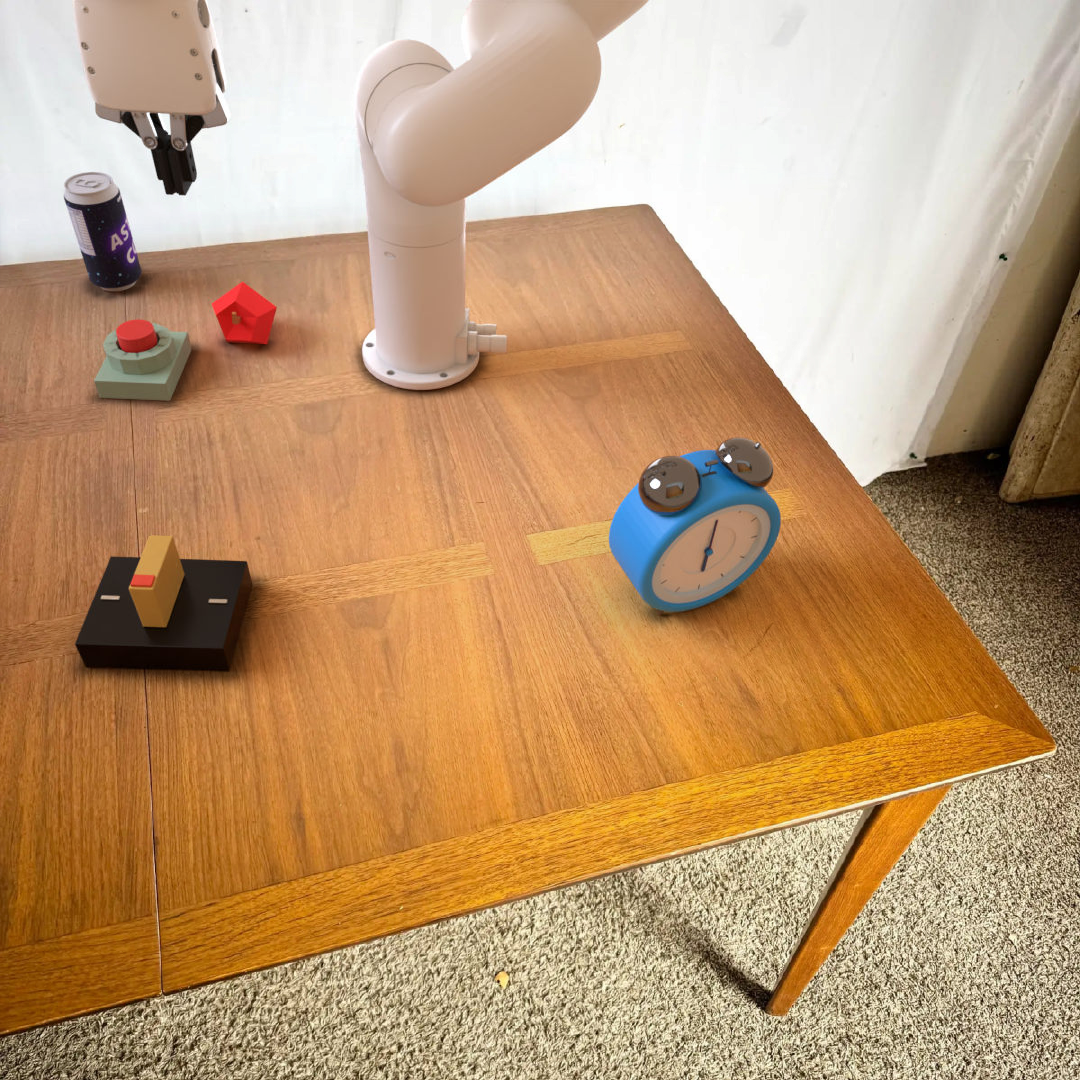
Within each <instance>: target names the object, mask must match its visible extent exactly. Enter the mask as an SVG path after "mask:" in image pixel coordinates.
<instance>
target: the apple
mask: <svg viewBox="0 0 1080 1080" xmlns="http://www.w3.org/2000/svg"><path fill="white" fill-rule="evenodd" d="M211 307H212V309H213V313H214V314H215V317H216V319H217V322H218V324H219V327H220V329H221V331H222V333H223V337H224V340H225V341H226V343H237V344H238V343H239V344H255V345H256V344H257V345H268V342H269V339H270V335H271V331H272V327H273V323H274V320H275V316H276V312H277V310H278V309H277V308H278V306H277V305H275V304H274V303H272V302H270V301H269V300H268V299H267V298H265V297H264V296H263V295H262V294H260V293H259V292H258V291H256V290H255V289H253V288H252V287H251V286H249V285H248V284H247V283H245V282H244V281H241V282H240V283H238V284H237V285H235V286H233V288H231V289H229V290H228V291H227V292H226V293H224V294H223V295H222V296H220V297H219V298H217V299H215V301H213V302H212V303H211Z"/></svg>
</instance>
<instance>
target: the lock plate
mask: <svg viewBox="0 0 1080 1080" xmlns="http://www.w3.org/2000/svg"><path fill="white" fill-rule="evenodd" d="M140 558H141V556H139V557H138V556H110V558H109V560H108V562H107V565H106V567H105V570H104V572H103V574H102V577H101V580H100V582H99V584H98V587H97V588H96V592H95V594H94V597H93V599H92V601H91V603H90V606H89V608H88V611H87V613H86V616H85V618H84V621H83V622H82V625H81V628H80V630H79V632H78V635H77V637H76V640H75V642H74V645H75V647H76V650H77V652H78V653H79V656H80V658H81V660H82V662H83V665H84V666H85V668H92V669H93V668H95V669H97V668H98V669H128V670H129V669H132V670H160V671H161V670H162V671H163V670H164V671H165V670H166V671H197V672H200V671H202V672H230V671H231V668H232V665H233V661H234V656H235V654H236V653H235V652H236V650H237V645H238V642H239V638H240V634H241V630H242V627H243V623H244V619H245V615H246V612H247V607H248V605H249V600H250V596H251V592H252V589H253V585H254V583H253V581H252V576H251V572H250V568H249V564H248V561H247V560H231V559H230V560H228V559H227V560H226V559H225V560H224V559H222V560H221V559H199V558H198V559H197V558H180V561H181V564H182V568H183V571H184V574H185V575H184V578H183V580H182V583H181V586H180V589H179V592H178V595H177V598H176V601H175V604H174V607H173V609H172V612H171V615H170V618H169V621H168V624H167V627H144V626H143V625H142V622H141V620H140V617H139V614H138V612H137V609H136V607H135V604H134V601H133V599H132V596H131V594H130V591H129V586H130V584H131V581H132V579H133V576H134V574H135V571H136V568H137V566H138V563H139V561H140Z"/></svg>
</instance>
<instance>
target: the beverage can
mask: <svg viewBox="0 0 1080 1080" xmlns="http://www.w3.org/2000/svg"><path fill="white" fill-rule="evenodd" d="M63 186H64V187H63V188H64V193H63V200H64V203H65V207H66V209H67V213H68V215H69V219H70V222H71V225H72V228H73V231H74V235H75V239H76V241H77V244H78V247H79V250H80V253H81V256H82V261H83V263H84V266H85V270H86V273H87V276H88V278H89V281H90V282H91V283H92V284H93V285H94V286H97V287H99V288H101V289H102V290H103V291H108V292H121V291H125V290H128V289H131V288H132V287H134V286H135V284H136V283H137V281H138V280H139V279H140V278H141V276H142V273H143V272H142V268H141V263H140V260H139V257H138V252H137V250H136V249H137V248H136V246H135V242H134V241H135V240H134V239H133V234H132V231H131V227H130V224H129V220H128V215H127V211H126V208H125V204H124V201H123V196H122V194H121V190H120V188H119V187H118V186H117V184H115V182H114V179H113V178H112V176H111V175H109V174H107V173H104V172H100V171H86V172H80V173H77V174H73V175H72V176H69V177H68V178H67V179H66V180H65V181H64V184H63Z"/></svg>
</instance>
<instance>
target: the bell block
mask: <svg viewBox="0 0 1080 1080" xmlns="http://www.w3.org/2000/svg"><path fill="white" fill-rule="evenodd" d="M151 323H152V324H153V326H154V330H155V333H156V337H157V345H156V346H155V347H153V348H152V349H150V350H148V351H144V352H140V353H127V352H124V351H123V350H122V349H121V348H120V345H119V341H118V338H117V335H116V329H115V330H113V331H111V332H110V333H108V334H107V335H106V336H105V339H104V341H103V343H102V347H103V349H104V352H105V358H104V360H103V362H102V364H101V366H100V367H99V370H98V372H97V374H96V376H95V378H94V380H93V382H94V385H95V388H96V391H97V394H98V397H99V398H100V399H116V400H141V401H142V400H143V401H165V402H167V401H168V402H170V401H171V400H172V397H173V395H174V392H175V390H176V387H177V386H178V383H179V381H180V378H181V376H182V374H183V371H184V369H185V367H186V364H187V362H188V359H189V356H190V354H191V352H192V350H193V349H192V343H191V340H190V336H189V333H188V331H171V330H170V329H169V328H168V327H165V326H163V325H161V324H158V323H156V322H151Z"/></svg>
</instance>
